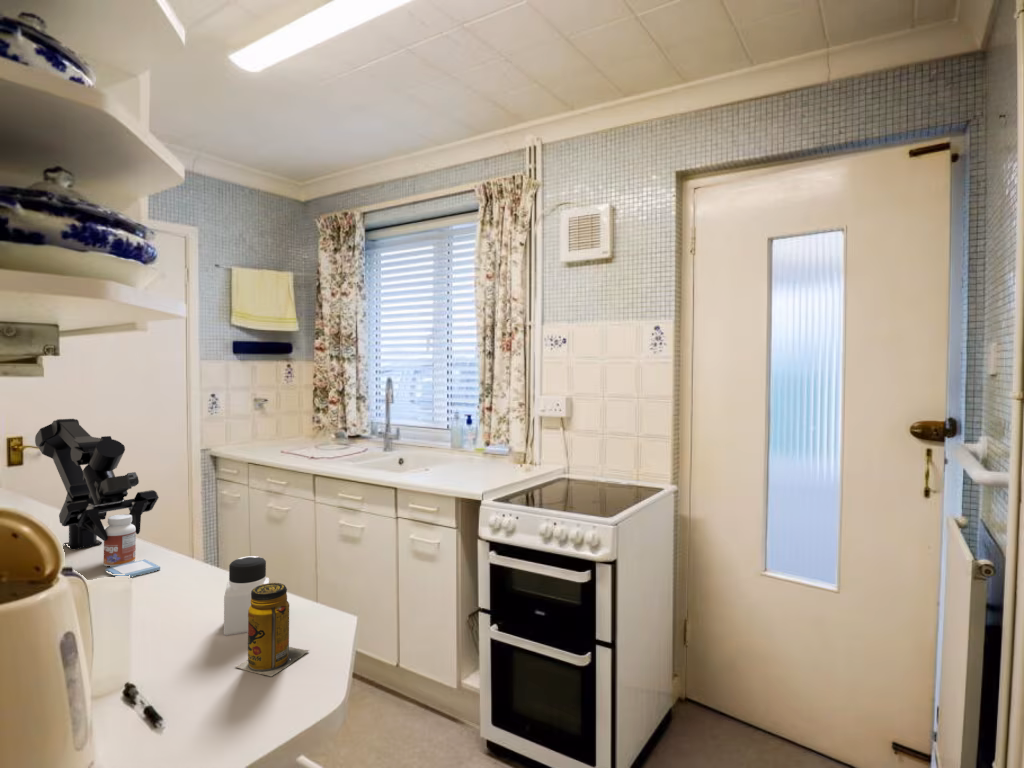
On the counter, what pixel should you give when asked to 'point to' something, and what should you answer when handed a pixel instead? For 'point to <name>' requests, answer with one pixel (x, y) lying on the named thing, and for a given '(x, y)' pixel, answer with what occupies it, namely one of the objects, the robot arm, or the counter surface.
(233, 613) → the medicine bottle
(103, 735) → the counter surface
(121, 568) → the coaster
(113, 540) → the pill bottle
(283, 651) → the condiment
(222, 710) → the counter surface
